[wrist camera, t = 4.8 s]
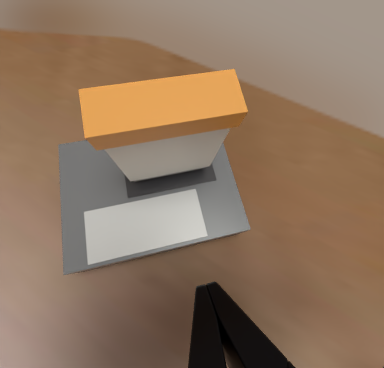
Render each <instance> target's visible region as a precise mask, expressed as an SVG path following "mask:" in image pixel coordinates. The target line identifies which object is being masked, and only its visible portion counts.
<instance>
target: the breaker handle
mask: <svg viewBox="0 0 384 368" xmlns="http://www.w3.org/2000/svg"><path fill="white" fill-rule="evenodd" d="M79 96H80V104H81V112H82V119H83V127H84V135H85V139H86V140H87V141H88V142H89V143H90V144H91V145H92V146H93V147H94V148H95V149H96V151H98V150H103V149H104V150H105V151H106V152H107V153H108V155H109V156H110V157H111V158H112V160H113V161H114V162H115V163H116V164H117V166H118V167H119V168H120V169H121V171H122V172H123V173H124V174H125V175H126V177H127V178H128V179H129V180H130V182H131V181H134V182H137V181H142V180H147V179H152V178H157V177H162V176H168V175H173V174H178V173H183V172H188V171H193V170H198V169H204V168H206V167H208V166H210V165H211V163H212V161H213V159H214V158H215V156H216V154H217V152H218V150H219V148H220V147H221V145H222V143H223V141H224V139H225V137H226V136H227V134H228V132H229V130H230V128H233V127H239V125H240V124H241V122H242V121H243V119H244V117H245V116H246V114H247V112H248V110H247V107H246V104H245V101H244V97H243V94H242V91H241V88H240V85H239V82H238V78H237V75H236V72H235V69H231V70H223V71H215V72H208V73H200V74H192V75H185V76H177V77H169V78H162V79H154V80H146V81H139V82H131V83H123V84H116V85H108V86H100V87H93V88H85V89H79Z"/></svg>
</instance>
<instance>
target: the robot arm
mask: <svg viewBox="0 0 384 368" xmlns="http://www.w3.org/2000/svg"><path fill="white" fill-rule="evenodd" d="M225 359H226V361H227V364H228V366H229V368H295V367H294V366H293V365H292V363H291V362H290V361H288V360H287V358H286V357H285V356H284V355H283V354H282V353H281V352H280V351H279V349H278V348H277V347H276V346H275V345H274V344H273V343H272V342H271V341H270V340H269V339H268V338H267V336H266V335H265V334H264V333H263V332H262V331H261V330H260V329H259V328H258V327H257V326H256V325H255V323H254V322H253V321H252V320H251V319H250V318H249V317H248V316H247V315H246V314H245V313H244V311H243V310H242V309H241V308H240V307H239V306H238V305H237V304H236V303H235V302H234V301H233V300H232V298H231V297H230V296H229V295H228V294H227V293H226V292H225V291H224V290H223V289H222V288H221V286H220V285H219V284H218V283H217V282H211V283H208V284H206V285H205V284H204V285H200V286H197V287H196V292H195V302H194V312H193V322H192V333H191V343H190V353H189V363H188V368H227V367H226V361H225Z"/></svg>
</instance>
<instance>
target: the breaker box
mask: <svg viewBox="0 0 384 368" xmlns="http://www.w3.org/2000/svg"><path fill="white" fill-rule="evenodd" d="M59 170H60V196H61V221H62V246H63V272H64V275H66V274H72V273H79V272H85V271H89V270H93V269H97V268H101V267H105V266H109V265H113V264H118V263H122V262H126V261H130V260H134V259H138V258H142V257H146V256H150V255H154V254H158V253H163V252H167V251H171V250H175V249H179V248H183V247H187V246H191V245H195V244H199V243H203V242H207V241H212V240H216V239H220V238H224V237H228V236H232V235H236V234H240V233H242V232H245V231H248V230H250V226H249V222H248V219H247V216H246V213H245V210H244V207H243V204H242V201H241V197H240V194H239V191H238V188H237V185H236V182H235V179H234V176H233V172H232V169H231V166H230V163H229V160H228V157H227V154H226V151H225V147H224V144H223V143H222V145H221V147H220V148H219V150H218V152H217V154H216V156H215V158H214V159H213V161H212V163H211V165H210V166H208V167H206V168H204V169H198V170H193V171H188V172H183V173H178V174H173V175H168V176H162V177H157V178H152V179H147V180H142V181H137V182H134V181H131V182H130V180H129V179H128V178H127V177H126V175H125V174H124V173H123V172H122V171H121V169H120V168H119V167H118V166H117V164H116V163H115V162H114V161H113V160H112V158H111V157H110V156H109V155H108V153H107V152H106V151H105V150H104V149H103V150H98V151H96V149H95V148H94V147H93V146H92V145H91V144H90V143H89V142H88V141H87V140H84V141H78V142H72V143H66V144H60V145H59Z"/></svg>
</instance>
